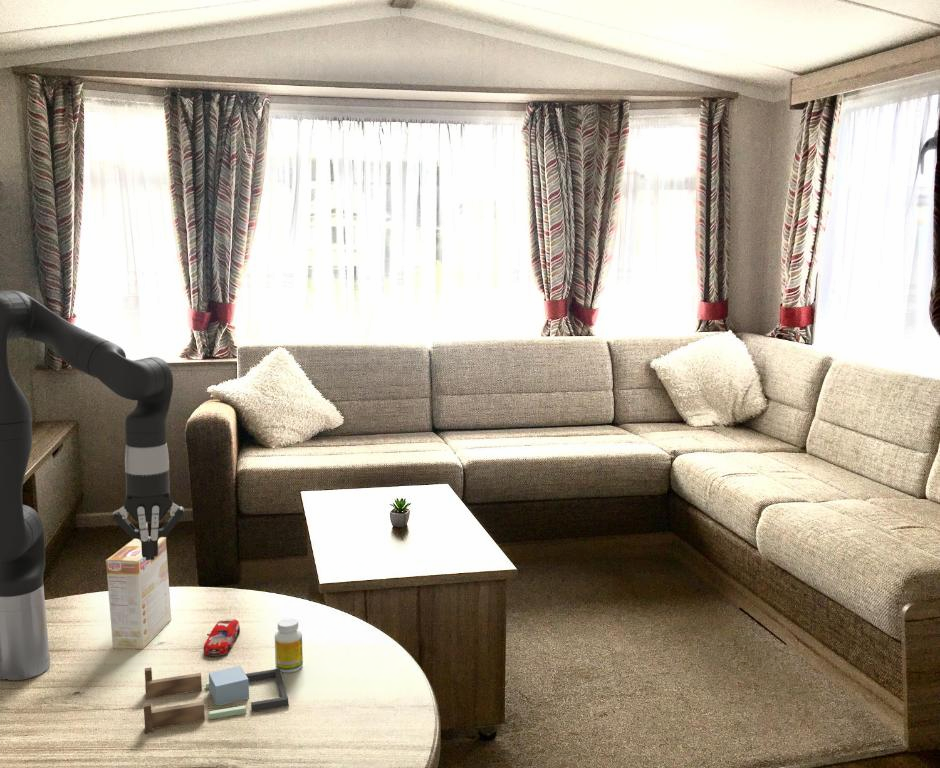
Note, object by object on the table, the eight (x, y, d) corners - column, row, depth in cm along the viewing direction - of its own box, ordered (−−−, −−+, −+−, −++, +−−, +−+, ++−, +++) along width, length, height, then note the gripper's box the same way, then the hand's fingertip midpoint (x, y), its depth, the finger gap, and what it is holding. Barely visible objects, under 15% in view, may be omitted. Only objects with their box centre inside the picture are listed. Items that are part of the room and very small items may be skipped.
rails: (209, 719, 162) (209, 714, 162) (206, 686, 173) (205, 681, 173) (246, 713, 164) (246, 708, 164) (240, 681, 175) (240, 676, 175)
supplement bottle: (272, 664, 182) (271, 619, 181) (299, 658, 185) (297, 614, 183) (279, 675, 178) (277, 629, 176) (306, 670, 180) (304, 624, 178)
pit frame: (251, 712, 164) (251, 705, 164) (245, 680, 176) (245, 673, 175) (288, 706, 166) (288, 698, 166) (280, 675, 178) (279, 668, 178)
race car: (226, 659, 185) (225, 641, 184) (200, 659, 185) (199, 640, 185) (244, 630, 198) (243, 613, 198) (219, 630, 198) (218, 613, 198)
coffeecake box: (142, 618, 204) (136, 535, 201) (172, 619, 204) (167, 536, 200) (110, 648, 189) (104, 559, 186) (143, 649, 189) (137, 560, 186)
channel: (145, 733, 157) (143, 706, 156) (146, 693, 171) (144, 668, 170) (205, 723, 160) (203, 697, 160) (201, 684, 174) (200, 660, 173)
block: (216, 706, 166) (215, 686, 166) (209, 692, 172) (208, 672, 171) (249, 698, 169) (248, 678, 169) (241, 684, 174) (240, 665, 174)
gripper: (106, 475, 159) (110, 569, 162) (185, 471, 163) (187, 562, 166) (109, 464, 166) (113, 554, 169) (185, 460, 170) (187, 549, 173)
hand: (150, 558), depth 167 cm, fingers closed
